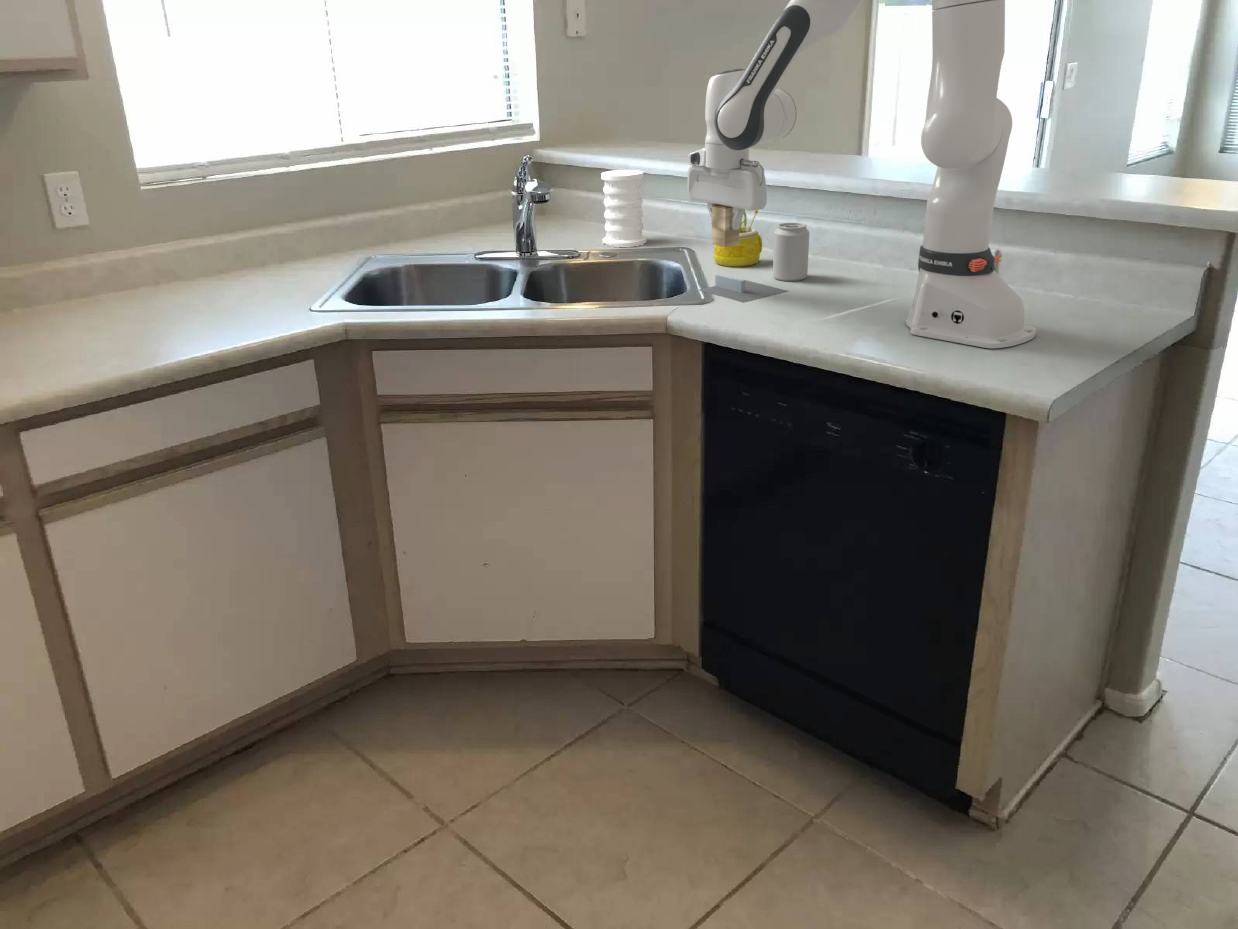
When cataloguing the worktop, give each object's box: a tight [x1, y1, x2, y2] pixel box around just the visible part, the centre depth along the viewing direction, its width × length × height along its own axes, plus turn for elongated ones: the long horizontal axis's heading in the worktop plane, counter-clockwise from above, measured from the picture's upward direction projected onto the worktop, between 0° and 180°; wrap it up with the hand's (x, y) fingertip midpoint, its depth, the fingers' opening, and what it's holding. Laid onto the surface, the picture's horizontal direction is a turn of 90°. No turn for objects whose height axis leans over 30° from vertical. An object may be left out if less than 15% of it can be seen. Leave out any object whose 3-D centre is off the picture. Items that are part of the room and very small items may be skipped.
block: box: [711, 204, 739, 247], centre depth 194 cm, size 4×4×8 cm
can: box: [772, 222, 810, 282], centre depth 204 cm, size 8×8×12 cm
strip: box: [714, 273, 746, 293], centre depth 199 cm, size 8×1×2 cm, turn 37°
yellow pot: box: [713, 210, 763, 268], centre depth 220 cm, size 13×11×12 cm
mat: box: [698, 279, 789, 304], centre depth 198 cm, size 14×13×1 cm
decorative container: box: [600, 169, 647, 246], centre depth 245 cm, size 12×12×18 cm
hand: (725, 227), depth 194 cm, fingers closed on block, 4 cm apart
